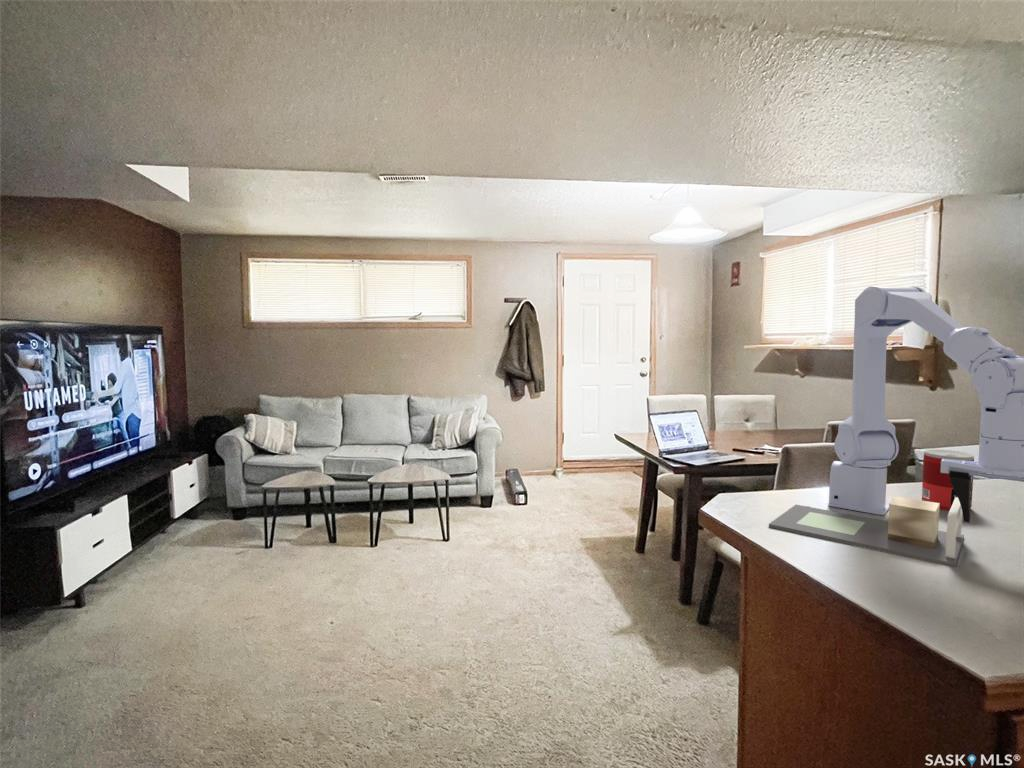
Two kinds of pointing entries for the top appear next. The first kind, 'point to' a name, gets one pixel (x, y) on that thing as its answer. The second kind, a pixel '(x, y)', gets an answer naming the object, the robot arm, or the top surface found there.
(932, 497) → the canned food
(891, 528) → the birch cube
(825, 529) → the rubber mat
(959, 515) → the gate
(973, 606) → the top surface
